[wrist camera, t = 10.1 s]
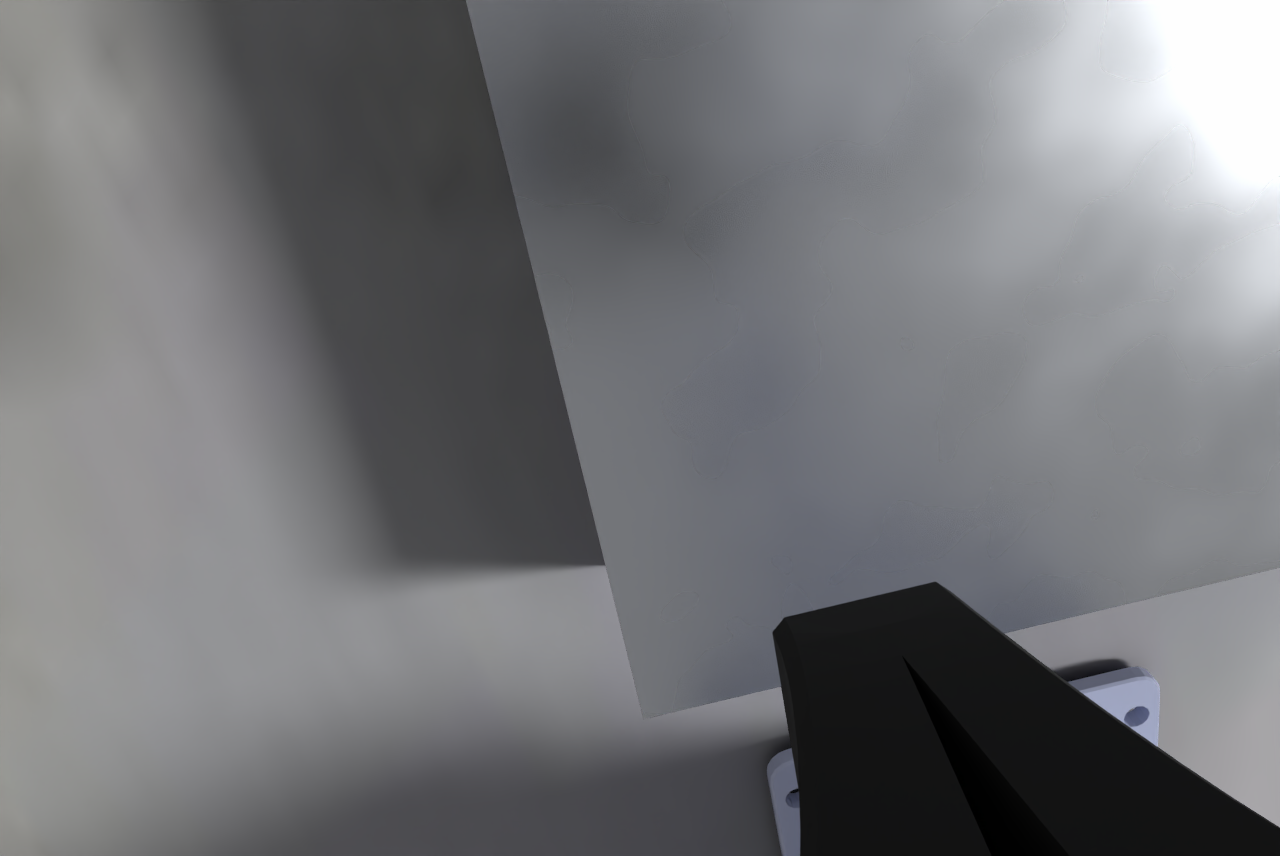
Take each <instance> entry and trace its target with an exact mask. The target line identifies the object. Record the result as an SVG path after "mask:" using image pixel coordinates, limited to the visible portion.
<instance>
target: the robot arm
mask: <svg viewBox="0 0 1280 856" xmlns="http://www.w3.org/2000/svg"><path fill="white" fill-rule="evenodd" d="M772 634H773V640H774V646H775V652H776V658H777V664H778V670H779V676H780V682H781V688H782V694H783V700H784V706H785V712H786V718H787V724H788V730H789V736H790V742H791V748H790V749H787V750H784V751H782V752H779V753H778V754H777V755H775V756H774V757H773V758H772V759H771V760H770V762H769V764H768V766H767V777H768V783H769V788H770V794H771V799H772V804H773V810H774V815H775V821H776V826H777V832H778V837H779V843H780V848H781V853H782V856H1280V828H1279V827H1278V826H1276V825H1275V824H1273V823H1272V822H1270V821H1268V820H1267V819H1265V818H1264V817H1262V816H1261V815H1259V814H1257V813H1256V812H1254V811H1253V810H1251V809H1250V808H1248V807H1246V806H1245V805H1243V804H1242V803H1240V802H1239V801H1237V800H1235V799H1234V798H1232V797H1231V796H1229V795H1228V794H1226V793H1225V792H1223V791H1222V790H1220V789H1219V788H1217V787H1216V786H1214V785H1213V784H1211V783H1210V782H1208V781H1207V780H1205V779H1204V778H1202V777H1201V776H1199V775H1198V774H1196V773H1195V772H1193V771H1192V770H1190V769H1189V768H1187V767H1186V766H1184V765H1183V764H1181V763H1180V762H1178V761H1177V760H1176V759H1174V758H1173V757H1171V756H1170V755H1168V754H1167V753H1166V752H1164V751H1163V750H1161V749H1160V748H1159V747H1158V729H1159V705H1160V688H1159V683H1158V682H1157V681H1156V680H1155V679H1154V677H1153V676H1152V675H1151V674H1150V673H1149V672H1148V671H1147V670H1146V669H1144V668H1141V667H1128V668H1124V669H1120V670H1115V671H1111V672H1107V673H1103V674H1099V675H1095V676H1090V677H1086V678H1082V679H1078V680H1074V681H1070V682H1067V681H1065V680H1064V679H1063V678H1061V677H1060V676H1059V675H1057V674H1056V673H1055V672H1053V671H1052V670H1051V669H1049V668H1048V667H1047V666H1045V665H1044V664H1043V663H1042V662H1040V661H1039V660H1038V659H1036V658H1035V657H1034V656H1032V655H1031V654H1030V653H1028V652H1027V651H1026V650H1025V649H1023V648H1022V647H1021V646H1019V645H1018V644H1017V643H1016V642H1014V641H1013V640H1012V639H1010V638H1009V637H1008V636H1007V635H1005V634H1004V633H1003V632H1001V631H1000V630H999V629H998V628H996V627H995V626H994V625H993V624H991V623H990V622H989V621H988V620H986V619H985V618H984V617H983V616H981V615H980V614H979V613H977V612H976V611H975V610H974V609H972V608H971V607H970V606H969V605H967V604H966V603H965V602H964V601H962V600H961V599H960V598H959V597H957V596H956V595H955V594H954V593H952V592H951V591H950V590H948V589H947V588H945V587H943V586H942V585H940V584H939V583H937V582H931V583H927V584H923V585H919V586H914V587H910V588H906V589H902V590H897V591H893V592H889V593H885V594H881V595H876V596H872V597H868V598H864V599H859V600H855V601H851V602H847V603H842V604H838V605H834V606H830V607H826V608H821V609H817V610H813V611H809V612H804V613H800V614H796V615H792V616H787V617H784V618H783V620H782V621H781V622H780V623H779V625H778V626H777V627H776V628H775V629H774V631H773V632H772ZM1135 707H1136V708H1135ZM1133 708H1134V709H1133ZM1130 709H1133V710H1132V711H1130V712H1128V711H1129V710H1130ZM1127 712H1128V713H1127ZM797 788H798V790H799V791H798V792H796V793H789V792H790V791H792V790H795V789H797Z"/></svg>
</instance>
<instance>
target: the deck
mask: <svg viewBox="0 0 1280 856" xmlns="http://www.w3.org/2000/svg"><path fill="white" fill-rule="evenodd" d="M466 3H467V7H468V11H469V15H470V19H471V23H472V28H473V32H474V36H475V40H476V44H477V48H478V52H479V56H480V60H481V64H482V68H483V72H484V76H485V80H486V84H487V88H488V92H489V96H490V100H491V104H492V108H493V113H494V117H495V121H496V125H497V129H498V133H499V137H500V141H501V145H502V149H503V153H504V157H505V161H506V165H507V169H508V173H509V177H510V181H511V185H512V189H513V193H514V197H515V202H516V206H517V210H518V214H519V218H520V222H521V226H522V230H523V234H524V238H525V242H526V246H527V250H528V254H529V258H530V262H531V266H532V270H533V274H534V278H535V282H536V287H537V291H538V295H539V299H540V303H541V307H542V311H543V315H544V319H545V323H546V327H547V331H548V335H549V339H550V343H551V347H552V351H553V355H554V359H555V363H556V367H557V371H558V376H559V380H560V384H561V388H562V392H563V396H564V400H565V404H566V408H567V412H568V416H569V420H570V424H571V428H572V432H573V436H574V440H575V444H576V448H577V452H578V456H579V461H580V465H581V469H582V473H583V477H584V481H585V485H586V489H587V493H588V497H589V501H590V505H591V509H592V513H593V517H594V521H595V525H596V529H597V533H598V537H599V541H600V545H601V550H602V554H603V558H604V562H605V566H606V570H607V574H608V578H609V582H610V586H611V590H612V594H613V598H614V602H615V606H616V610H617V614H618V618H619V622H620V626H621V630H622V634H623V639H624V643H625V647H626V651H627V655H628V659H629V663H630V667H631V671H632V675H633V679H634V683H635V687H636V691H637V695H638V699H639V703H640V707H641V711H642V715H643V719H646V718H650V717H655V716H659V715H663V714H667V713H671V712H676V711H680V710H684V709H688V708H692V707H697V706H701V705H705V704H709V703H713V702H718V701H722V700H726V699H730V698H734V697H739V696H743V695H747V694H751V693H755V692H760V691H764V690H768V689H772V688H776V687H781V682H780V676H779V670H778V664H777V658H776V652H775V646H774V640H773V634H772V632H773V631H774V629H775V628H776V627H777V626H778V625H779V623H780V622H781V621H782V620H783V618H784V617H787V616H792V615H796V614H800V613H804V612H809V611H813V610H817V609H821V608H826V607H830V606H834V605H838V604H842V603H847V602H851V601H855V600H859V599H864V598H868V597H872V596H876V595H881V594H885V593H889V592H893V591H897V590H902V589H906V588H910V587H914V586H919V585H923V584H927V583H931V582H937V583H939V584H940V585H942V586H943V587H945V588H947V589H948V590H950V591H951V592H952V593H954V594H955V595H956V596H957V597H959V598H960V599H961V600H962V601H964V602H965V603H966V604H967V605H969V606H970V607H971V608H972V609H974V610H975V611H976V612H977V613H979V614H980V615H981V616H983V617H984V618H985V619H986V620H988V621H989V622H990V623H991V624H993V625H994V626H995V627H996V628H998V629H999V630H1000V631H1001V632H1003V633H1007V632H1012V631H1016V630H1020V629H1024V628H1028V627H1033V626H1037V625H1041V624H1045V623H1049V622H1054V621H1058V620H1062V619H1066V618H1070V617H1075V616H1079V615H1083V614H1087V613H1091V612H1096V611H1100V610H1104V609H1108V608H1112V607H1117V606H1121V605H1125V604H1129V603H1133V602H1138V601H1142V600H1146V599H1150V598H1154V597H1159V596H1163V595H1167V594H1171V593H1175V592H1180V591H1184V590H1188V589H1192V588H1196V587H1201V586H1205V585H1209V584H1213V583H1217V582H1222V581H1226V580H1230V579H1234V578H1238V577H1243V576H1247V575H1251V574H1255V573H1259V572H1264V571H1268V570H1272V569H1276V568H1280V0H466Z"/></svg>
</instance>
